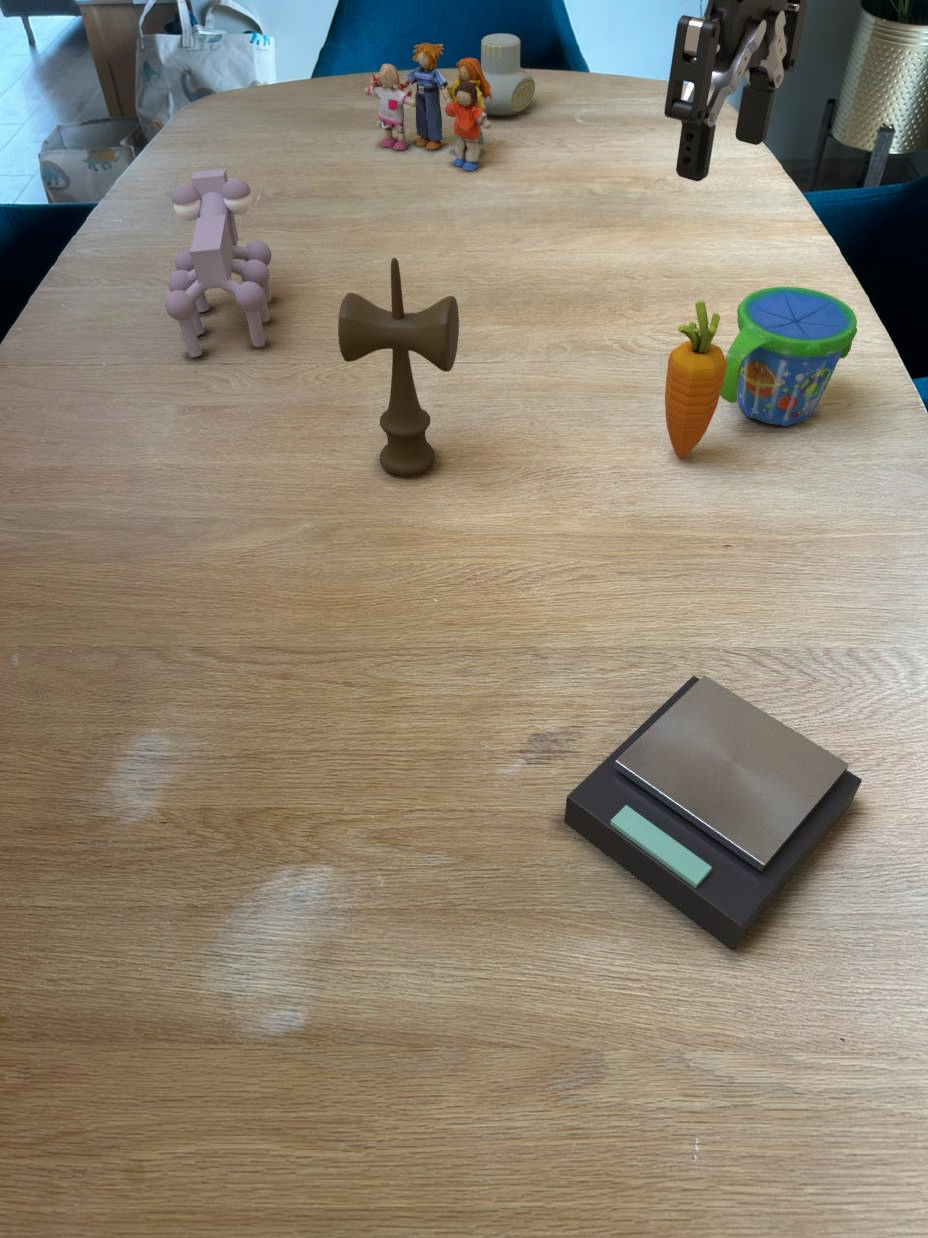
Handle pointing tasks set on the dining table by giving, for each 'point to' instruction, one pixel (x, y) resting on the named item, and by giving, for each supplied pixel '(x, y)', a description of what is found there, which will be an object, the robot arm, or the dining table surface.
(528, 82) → the air freshener
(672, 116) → the robot arm
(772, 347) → the snack cup
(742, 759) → the scale pan
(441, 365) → the kendama
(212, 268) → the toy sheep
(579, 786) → the scale
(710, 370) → the carrot
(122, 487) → the dining table surface
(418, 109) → the doll family
